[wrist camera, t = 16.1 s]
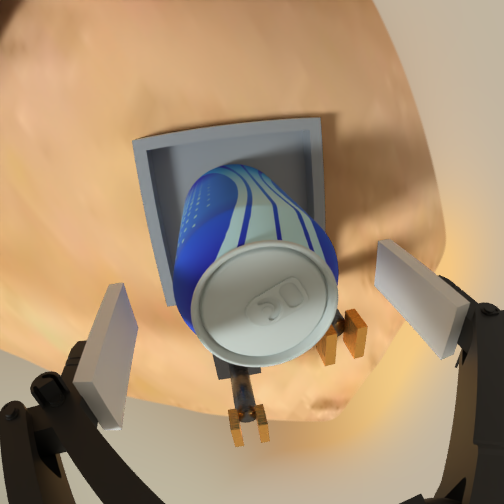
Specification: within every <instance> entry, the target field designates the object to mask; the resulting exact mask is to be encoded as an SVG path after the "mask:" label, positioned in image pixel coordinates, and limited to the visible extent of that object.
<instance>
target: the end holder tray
mask: <svg viewBox="0 0 504 504" xmlns="http://www.w3.org/2000/svg"><path fill="white" fill-rule="evenodd" d="M132 143H133V150H134V156H135V162H136V168H137V173H138V179H139V184H140V190H141V195H142V200H143V205H144V210H145V215H146V220H147V224H148V229H149V234H150V238H151V243H152V247H153V251H154V255H155V260H156V264H157V268H158V272H159V276H160V280H161V284H162V288H163V292H164V295H165V299H166V303H167V306H174V305H176V302H175V298H174V292H173V272H174V265H175V258H176V251H177V245H178V239H179V233H180V226H181V221H182V215H183V209H184V204H185V200H186V197H187V195H188V192H189V190H190V189H191V187H192V186H193V184H194V183H195V182H196V181H197V180H198V179H199V178H200V177H201V176H202V175H204V174H205V173H206V172H208V171H210V170H212V169H214V168H216V167H219V166H223V165H229V164H241V165H246V166H250V167H253V168H255V169H257V170H259V171H261V172H263V173H264V174H265V175H267V176H268V177H269V178H270V179H271V180H272V181H273V182H274V183H275V184H276V185H278V186H279V187H280V188H281V189H282V190H283V191H284V192H285V193H286V194H287V195H288V196H289V197H290V198H291V199H293V200H294V201H295V202H296V203H297V204H298V205H299V206H300V207H301V208H302V209H303V210H304V211H305V212H306V213H307V214H308V215H309V216H310V217H311V218H312V219H313V220H315V221H316V222H317V223H318V225H319V226H320V227H321V228H322V229H323V230H324V231H325V193H324V168H323V149H322V133H321V119H320V118H319V117H304V118H287V119H273V120H262V121H251V122H241V123H233V124H224V125H216V126H209V127H202V128H195V129H189V130H182V131H176V132H170V133H165V134H159V135H154V136H149V137H144V138H139V139H136V140H133V141H132Z"/></svg>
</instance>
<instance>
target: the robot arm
mask: <svg viewBox="0 0 504 504" xmlns="http://www.w3.org/2000/svg"><path fill="white" fill-rule="evenodd" d="M374 286H375V287H376V288H377V289H378V290H379V291H380V292H381V293H382V294H383V295H384V296H385V297H386V299H387V300H388V301H389V302H390V303H391V304H392V305H393V306H394V307H395V308H396V309H397V311H398V312H399V313H400V314H401V315H402V316H403V317H404V318H405V319H406V321H407V322H408V323H409V324H410V325H411V326H412V327H413V328H414V329H415V331H416V332H417V333H418V334H419V335H420V336H421V337H422V339H423V340H424V341H425V342H426V343H427V344H428V345H429V347H430V348H431V349H432V350H433V351H434V352H435V354H436V355H437V356H438V357H439V358H440V359H441V360H442V359H444V358H446V357H448V356H451V355H453V354H454V352H455V349H456V346H457V344H458V345H460V347H461V348H462V350H461V352H460V355H459V358H458V360H457V363H456V366H455V367H456V368H457V366H458V364H459V374H458V386H457V395H456V396H457V397H456V405H455V412H454V419H453V426H452V433H451V439H450V444H449V449H448V454H447V459H446V464H445V469H444V473H443V477H442V481H441V484H440V486H439V488H438V490H437V492H436V493H435V496H434V498H427V499H424V498H423V496H422V495H421V494H419V495H417V496H415V497H413V498H411V499H408V500H406V501H404V502H402V503H400V504H504V310H501V311H500V309H498V308H497V307H496V306H495V305H493V304H490V303H479V304H478V303H477V302H476V301H475V300H474V299H472V298H471V297H470V296H469V295H467V294H466V293H465V292H464V291H463V290H461V289H460V288H459V287H458V286H456V285H455V284H454V283H453V282H451V281H450V280H449V279H447V278H445V277H442V276H440V275H439V276H437V275H436V274H435V273H434V272H432V271H431V270H430V269H429V268H427V267H426V266H425V265H424V264H422V263H421V262H420V261H418V260H417V259H416V258H415V257H413V256H412V255H411V254H409V253H408V252H407V251H405V250H404V249H403V248H402V247H400V246H399V245H398V244H396V243H395V242H393V241H392V240H391V239H386V240H380V241H378V250H377V263H376V274H375V284H374ZM137 331H138V325H137V323H136V320H135V317H134V314H133V311H132V308H131V305H130V302H129V299H128V296H127V293H126V290H125V286H124V283H116V284H110V285H109V286H108V289H107V291H106V293H105V296H104V298H103V301H102V303H101V305H100V308H99V310H98V313H97V315H96V318H95V321H94V323H93V326H92V328H91V331H90V334H89V336H88V339H87V341H78V342H77V343H76V344H75V346H74V347H73V348H72V349H71V351H70V354H69V356H68V359H67V361H66V364H65V365H66V366H65V367H64V369H63V372H62V375H61V376H60V375H59V374H58V373H57V372H52V371H51V372H45V373H43V374H41V375H39V376H38V377H37V378H35V380H34V381H33V382H32V384H31V388H30V390H31V394H32V395H33V397H34V398H35V399H36V401H37V402H38V403H39V405H38V406H35V407H30V408H26V407H25V406H24V404H23V403H21V402H20V401H11V402H9V403H7V404H6V405H5V406H4V407H3V408H2V409H1V411H0V446H1V457H2V465H3V472H4V479H5V485H6V491H7V497H8V502H9V504H76V503H75V501H74V498H73V495H72V492H71V489H70V486H69V483H68V480H67V477H66V474H65V470H64V467H63V464H62V460H61V457H60V453H63V452H67V453H68V454H69V456H70V457H71V459H72V460H73V462H74V463H75V465H76V466H77V468H78V469H79V471H80V472H81V474H82V475H83V477H84V478H85V480H86V481H87V482H88V484H89V485H90V486H91V488H92V489H93V491H94V492H95V493H96V495H97V496H98V497H99V498H100V500H101V501H102V502H103V504H165V503H164V502H163V501H162V500H161V499H160V498H158V496H157V495H156V494H155V493H154V492H153V491H151V490H150V488H149V487H148V486H147V485H145V483H143V481H142V480H141V479H140V478H139V477H138V476H137V475H136V474H135V473H134V472H133V471H132V470H131V469H130V467H129V466H128V465H127V464H126V463H125V462H124V461H123V460H122V458H121V457H120V456H119V455H118V454H117V453H116V451H115V450H114V449H113V448H112V447H111V446H110V444H109V443H108V442H107V441H106V439H105V438H104V437H103V436H102V434H101V433H100V432H99V431H98V429H97V424H98V422H99V424H100V425H101V427H102V428H103V429H104V430H122V424H123V416H124V409H125V402H126V395H127V388H128V382H129V376H130V370H131V364H132V358H133V352H134V347H135V342H136V336H137Z"/></svg>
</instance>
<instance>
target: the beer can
mask: <svg viewBox="0 0 504 504" xmlns="http://www.w3.org/2000/svg"><path fill="white" fill-rule="evenodd" d="M337 285H338V261H337V256H336V253H335V250H334V247H333V245H332V243H331V241H330V239H329V237H328V236H327V234H326V233H325V231H324V230H323V229H322V228H321V227H320V226H319V225H318V223H317V222H316V221H315V220H313V219H312V218H311V217H310V216H309V215H308V214H307V213H306V212H305V211H304V210H303V209H302V208H301V207H300V206H299V205H298V204H297V203H296V202H295V201H294V200H293V199H291V198H290V197H289V196H288V195H287V194H286V193H285V192H284V191H283V190H282V189H281V188H280V187H279V186H278V185H276V184H275V183H274V182H273V181H272V180H271V179H270V178H269V177H268V176H267V175H265V174H264V173H263V172H261V171H259V170H257V169H255V168H253V167H250V166H246V165H241V164H229V165H223V166H219V167H216V168H214V169H212V170H210V171H208V172H206V173H205V174H204V175H202V176H201V177H200V178H199V179H198V180H197V181H196V182H195V183H194V184H193V186H192V187H191V189H190V190H189V192H188V195H187V197H186V200H185V204H184V209H183V215H182V221H181V226H180V233H179V239H178V245H177V251H176V258H175V265H174V272H173V292H174V298H175V302H176V305H177V308H178V310H179V312H180V314H181V316H182V318H183V319H184V321H185V322H186V324H187V325H188V326H189V327H190V329H191V330H192V331H193V332H194V333H195V334H196V335H197V337H198V338H199V340H200V341H201V343H202V344H203V345H204V346H205V347H206V348H207V349H208V350H209V351H210V352H211V353H212V354H214V355H215V356H217V357H218V358H220V359H222V360H224V361H226V362H229V363H232V364H235V365H239V366H245V367H267V366H273V365H278V364H281V363H284V362H287V361H290V360H292V359H294V358H296V357H298V356H300V355H302V354H303V353H305V352H306V351H308V350H309V349H311V348H312V347H313V346H314V345H315V344H316V343H317V342H318V341H319V340H320V339H321V338H322V337H323V336H324V334H325V333H326V332H327V330H328V329H329V327H330V325H331V323H332V321H333V319H334V317H335V314H336V310H337V305H338V288H337Z"/></svg>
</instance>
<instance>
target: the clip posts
mask: <svg viewBox="0 0 504 504" xmlns="http://www.w3.org/2000/svg"><path fill="white" fill-rule="evenodd" d="M367 327H368V326H367V325H366V323H365V322H364V321H363V319H362V318H361V317H360V315H359V314H358V313H357V311H356V310H355V309H351V310H347V311H345V320H344V318H343V317H342V315H341V314H340V312H339V310H338V309H337V310H336V314H335V317H334V319H333V321H332V323H331V325H330V327H329V329H328V330H327V332H326V333H325V334H324V336H323V337H322V338H321V339H320V340H319V341H318V342H317V343H316V348H317V350H318V353H319V355H320V357H321V359H322V361H323V363H324V365H325V366H328V365H332V364H335V357H336V345H337V337H338V336H340V335H341V334H342V333H343V332H344V335H343V341H344V343H345V344H346V346H347V348H348V349H349V351H350V353H351V354H352V356H353V358H354V359H355V358H359V357H362V356H363V355H364V349H365V342H366V334H367ZM213 358H214V362H215V367H216V371H217V375H218V379H219V380H220V379H227V378H231V385H232V391H233V398H234V404H235V409H231V410H228V414H229V421H230V428H231V433H232V436H233V440H234V443H235V446H236V447H239V446H244V442H243V437H242V431H241V425H240V422H251V421H254V420H255V419H256V420H257V426H258V430H259V435H260V440H261V443H263V442H268V441H270V440H269V431H268V423H267V419H266V415H265V411H264V407H263V404H261V405H256V404H255V400H254V395H253V391H252V386H251V381H250V376H249V375H252V374H257V373H261V368H260V367H245V366H239V365H235V364H232V363H229V362H226V361H224V360H222V359H220V358H218V357H217V356H215V355H214V354H213Z"/></svg>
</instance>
